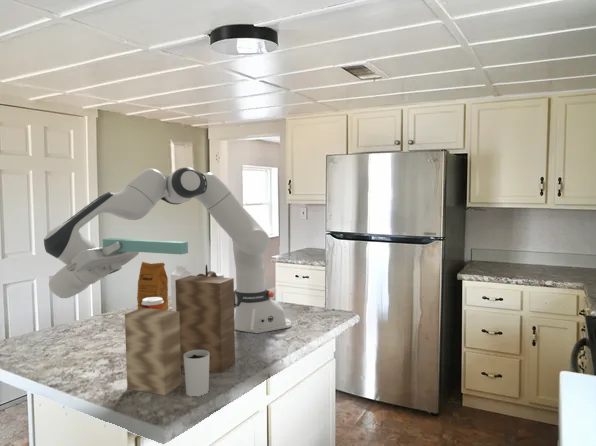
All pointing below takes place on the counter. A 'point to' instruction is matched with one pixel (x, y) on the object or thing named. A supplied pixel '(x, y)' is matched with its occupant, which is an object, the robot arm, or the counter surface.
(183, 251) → the rail
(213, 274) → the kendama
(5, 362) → the counter surface
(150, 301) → the paper cup
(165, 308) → the coffee package
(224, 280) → the post
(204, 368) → the white coffee cup
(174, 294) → the milk
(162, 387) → the zigzag patterned block
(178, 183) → the robot arm
